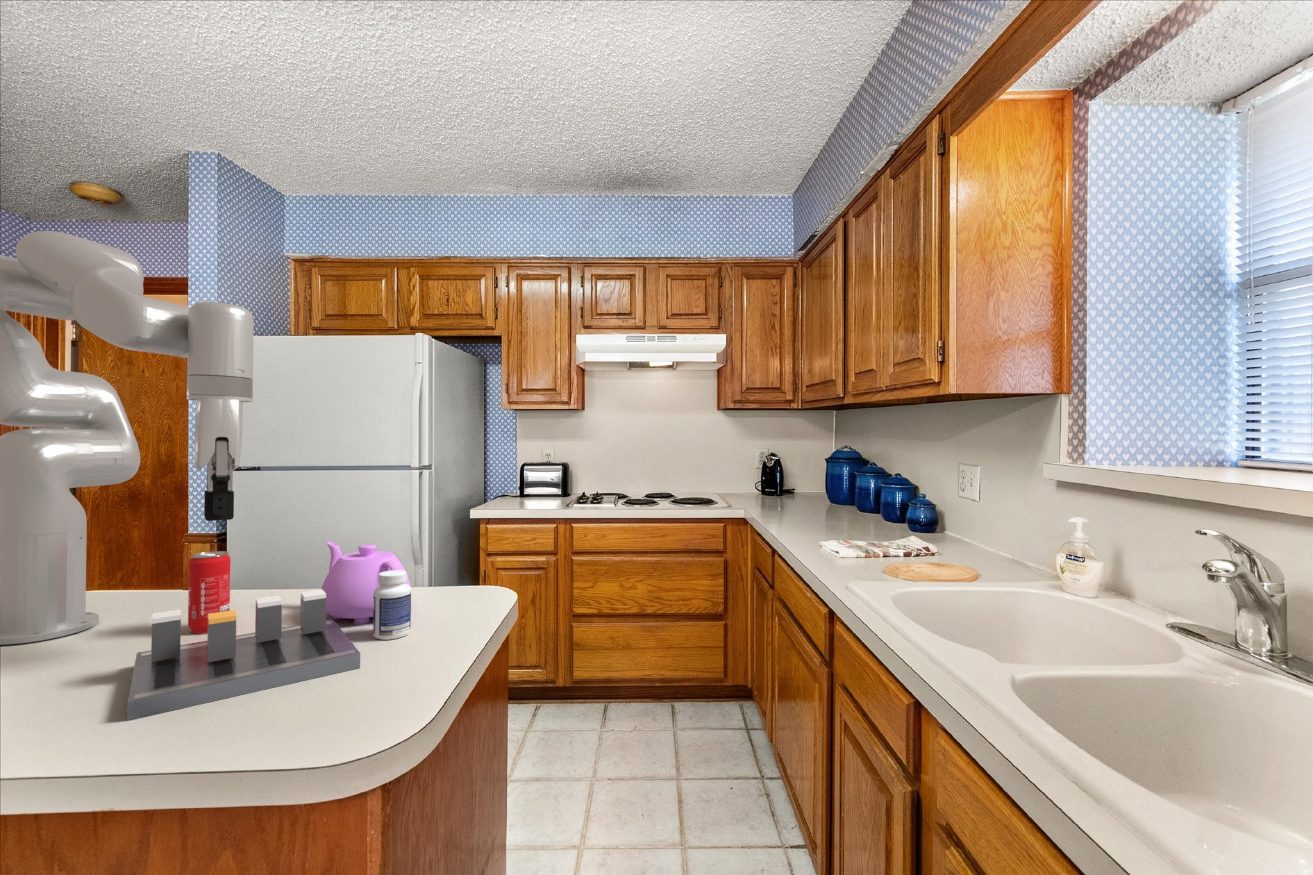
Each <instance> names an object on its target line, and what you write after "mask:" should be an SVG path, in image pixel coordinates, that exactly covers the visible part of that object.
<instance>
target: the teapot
mask: <svg viewBox="0 0 1313 875" xmlns="http://www.w3.org/2000/svg"><path fill="white" fill-rule="evenodd" d="M326 545H327V546H328V548H329V550H330V563H329V569H328V573H327V575H326V577H325V579H324V581H323V583H322V584H321V589H320V590H323V591H324V592H325V593H326V614H328V615H329V616H331V619H333V620H340V619H353V625H357V626H358V625H365V624H368V623H370V618H373V595H374V590H375V589H376V588H377V587H379V586H380V584H379V582H378V580H379V573H381V572H385V571H392V570H403V571H406V569H405V567H404V566H403V564H402V563H401V562H400V560H399V558H397V556H396V555H395V554H394V553H393V552H391V551H386V550H376V549H377V545H376V544H371V543H369V544H368V543H367V544H360V545H359V546H357V549H358V551H356V552H350V553H346V554H343V553H342V550H341V548H340V545H338V544H337V543H336V542H334V541H330V540H326ZM405 584H407V585H409V586H410V587H411V588H412V586H411V582H410V578H409V576H408V574H407V579H406V582H405Z"/></svg>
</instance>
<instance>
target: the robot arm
mask: <svg viewBox="0 0 1313 875" xmlns="http://www.w3.org/2000/svg"><path fill="white" fill-rule="evenodd" d="M15 254H16V255H15V256H16V257H11V256H7V255H2V254H0V425H3V426H4V425H5V426H7V427H19V428H21V429H15V430H12V431H8V432H5V433H4V434H1V435H0V646H4V645H18V644H27V643H34V642H40V641H46V640H50V639H51V640H52V639H57V638H62V637H66V636H69V635H73V634H76V633H80V632H83V631H86V630H88V629H90V628H93V627H94V626H96V625H97V624H98V623H99V622H100V617H99V616H100V615H99V614H98V613H96V612H91V611H86V605H87V601H86V598H87V597H86V594H87V592H86V591H87V538H88V537H87V535H88V534H87V532H88V530H87V529H88V527H87V526H88V525H87V514H86V510H85V509H84V507H83V505H82V504H81V503H80V502H79V500H78V499H77V498H76V497H75V496H74V495H73V494H72V492H71V490H69V489H73V488H85V487H98V486H99V487H100V486H109V485H110V486H111V485H117V484H122V483H124V482H127V481H128V480H131V479H132V478H133V477H134V476H135V475H136V474H137V473H138V470H139V469H140V468H139V467H140V464H141V452H140V448H139V447H140V446H139V444H138V442H137V439H136V436H135V434H134V431H133V428H132V426H131V423H130V421H129V419H128V418H129V417H128V416H127V413H126V411H125V408H124V406H123V404H122V400H121V399H120V396H119V394H118V392H117V390H116V389H115V388H114V387H113V385H112V384H111V383H110V382H108V381H107V380H106V379H104V378H103V377H100V376H98V375H95V374H91V373H86V372H78V371H68V370H59V369H57V368H55V367H53V366H51V365H50V364H49V362H48V360H47V358H46V356H45V354H44V351H43V348H42V345H41V344H40V342H39V341H38V340H37V338H36V337H35V336H34V335H33V334H32V333H31V332H30V331H29V330H28V328H26V327H25V326H24V325H22V324H21V323H20V322H19V321H17V320H15V319H14V318H13V317H11V316H10V315H9V314H8V313H7V311H8V312H12V313H13V312H14V313H18V314H24V315H31V316H36V317H42V318H43V317H44V318H49V319H55V320H61V321H76V322H77V324H79V326H80V327H82V328H84V329H85V330H87V331H88V332H90V333H91V334H93V335H95V336H96V337H98V338H100V339H101V340H104V341H105V342H107V343H109V344H111V345H114V346H116V347H118V348H122V349H125V350H130V351H136V352H143V353H144V352H145V353H150V354H151V353H152V354H159V355H166V356H172V357H176V358H187V359H186V360H187V362H186V364H187V366H186V368H187V371H186V374H187V375H186V400H188V401H189V400H190V401H196V405H195V412H194V450H193V452H194V453H193V454H194V455H193V456H194V458H193V459H194V461H193V462H194V465H193V466H194V468H195V469H196V470H197V471H202V467H204V466H205V467H206V490H204V506H203V507H204V510H203V511H204V513H203V514H204V519H205V521H206V522H213V521H214V522H215V521H217V522H218V521H227V520H232V519H234V518H235V513H234V512H235V511H234V510H235V507H234V506H235V491H233V483H234V482H233V480H234V479H233V475H234V474H233V473H234V470H236V469H238V468H239V467H240V461H241V453H242V442H243V441H242V439H243V415H244V414H243V409H244V408H243V404H244V403H253V398H254V396H253V393H254V392H253V391H254V390H253V389H254V383H253V382H254V380H253V379H254V327H255V326H254V324H255V322H254V316H253V314H252V313H251V311H250V310H248V309H247V308H245V307H243V306H239V305H236V304H233V303H232V304H231V303H226V302H216V301H200V302H195V303H194V304H192V305H191V306H185V305H182V304H179V303H173V302H171V301H165V300H160V299H158V298H157V299H156V298H152V297H146V296H144V281H145V278H144V270H143V268H142V266H141V264H140V263H139V261H137V258H135V257H134V256H133V255H132V254H130V253H128V252H127V251H125V250H123V249H120V248H118V247H114V246H110V245H106V244H104V243H100V242H97V241H94V240H90V239H88V238H84V237H81V236H76V235H73V234H69V233H66V232H60V231H54V230H40V231H34V232H31V233H28V234H26V235H24V236H23V237H22V238H21V239H20V240H19V241H18V243H17V245H16V247H15Z"/></svg>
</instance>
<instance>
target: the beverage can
mask: <svg viewBox="0 0 1313 875" xmlns="http://www.w3.org/2000/svg"><path fill="white" fill-rule="evenodd" d="M229 553H230V552H228V551H225V550H224V551H221V550H220V551H219V550H216V551H215V550H213V551H205V552H204V551H203V552H199V553H195V554H192V555H191V556H190V560H189V561H188V599H187V600H188V601H187V602H188V604H187V613H188V614H187V626H188V628H189V630H190V632H191V634H195V635H206V634H207V635H208V614H210V613H217V612H224V611H231V610H230V609H231V607H230V606H231V556H230V555H229Z"/></svg>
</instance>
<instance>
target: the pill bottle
mask: <svg viewBox="0 0 1313 875" xmlns="http://www.w3.org/2000/svg"><path fill="white" fill-rule="evenodd" d="M407 575H408V573H407V571H406V570H405V571H403V570H392V571H385V572H381V573H379V580H378V582H379V584H380V586H379V587H377V588H376V589H375V590H374V595H373V617H372V618H373V619H372V631H373V632H372V636H373V637H374V638H375V639H377V640H383V641H384V640H386V641H388V640H389V641H390V640H395V639H399V638H402V637H405V636H407V635H409V634H410V632H411V628H412V627H411V625H412V624H411V623H412V622H411V621H412V586H411V585H410V586H411V587H410V586H409V585H407V584H405V582H406V579H407Z"/></svg>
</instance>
